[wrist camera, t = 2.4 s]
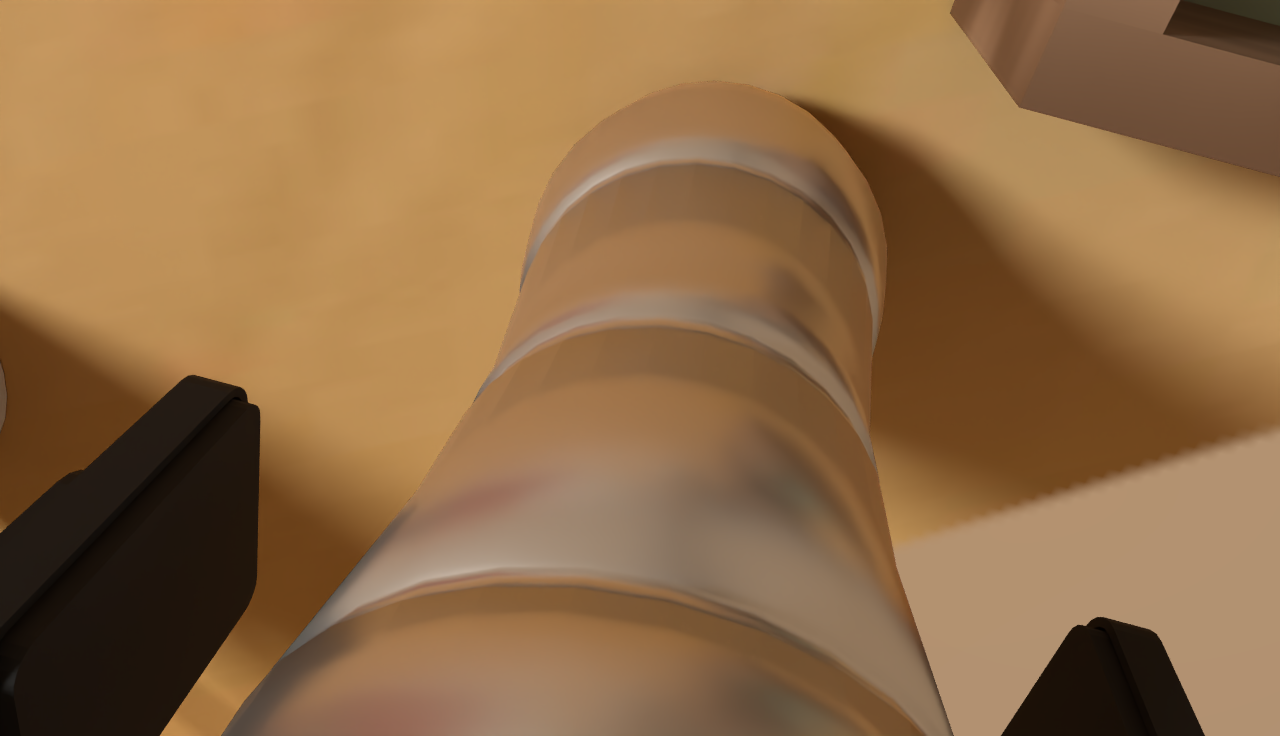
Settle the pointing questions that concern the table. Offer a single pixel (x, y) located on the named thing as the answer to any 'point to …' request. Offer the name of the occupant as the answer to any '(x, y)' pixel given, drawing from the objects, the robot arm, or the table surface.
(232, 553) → the robot arm
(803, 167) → the plastic bottle
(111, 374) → the table surface
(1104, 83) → the u rest
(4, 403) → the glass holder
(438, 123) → the table surface
